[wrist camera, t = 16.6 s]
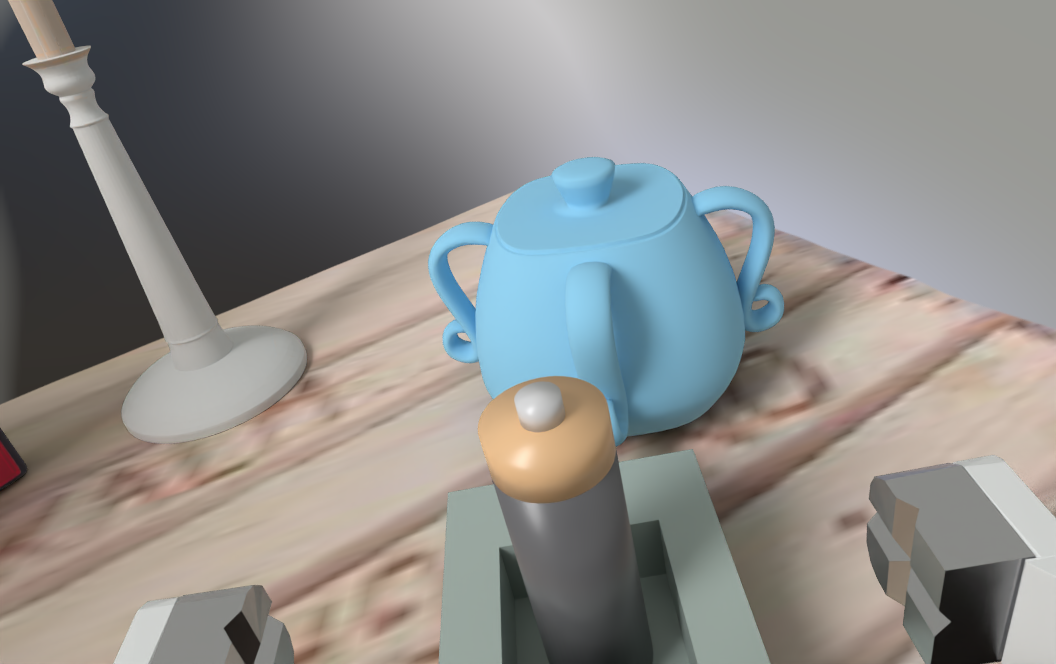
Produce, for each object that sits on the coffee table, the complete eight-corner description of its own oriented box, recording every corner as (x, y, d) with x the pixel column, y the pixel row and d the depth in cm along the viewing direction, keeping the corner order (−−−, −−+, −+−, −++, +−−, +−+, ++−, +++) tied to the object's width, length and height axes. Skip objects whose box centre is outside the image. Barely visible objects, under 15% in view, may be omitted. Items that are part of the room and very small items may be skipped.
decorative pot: (437, 385, 49) (376, 188, 42) (631, 285, 55) (605, 98, 48) (590, 524, 37) (538, 276, 30) (818, 374, 43) (820, 139, 36)
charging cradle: (461, 890, 24) (429, 826, 22) (468, 554, 36) (448, 492, 34) (808, 838, 24) (808, 768, 22) (699, 514, 36) (692, 449, 34)
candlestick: (311, 319, 60) (142, -115, 45) (301, 411, 49) (73, -119, 34) (149, 361, 60) (-81, -67, 44) (102, 465, 49) (-225, -55, 33)
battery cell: (553, 711, 28) (469, 453, 21) (547, 618, 31) (473, 369, 25) (662, 695, 28) (612, 428, 21) (644, 602, 31) (596, 346, 24)
